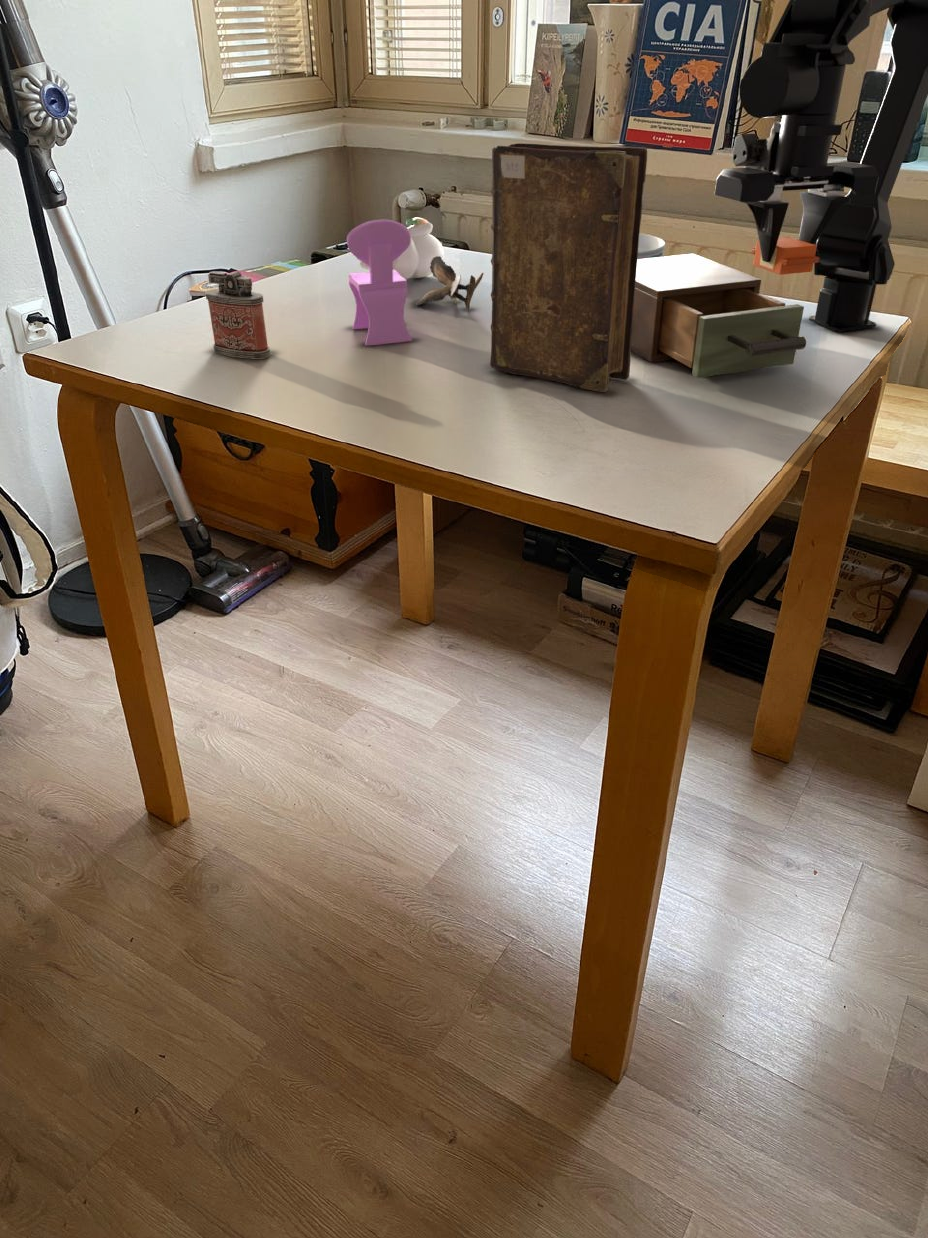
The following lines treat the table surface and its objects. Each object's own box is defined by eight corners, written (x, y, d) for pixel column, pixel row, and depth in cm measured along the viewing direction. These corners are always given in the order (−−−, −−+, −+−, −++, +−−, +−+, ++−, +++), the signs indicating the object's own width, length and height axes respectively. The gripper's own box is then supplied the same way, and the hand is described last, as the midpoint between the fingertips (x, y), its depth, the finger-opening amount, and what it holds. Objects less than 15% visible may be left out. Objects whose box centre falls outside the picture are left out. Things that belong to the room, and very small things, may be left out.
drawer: (822, 377, 109) (834, 318, 105) (723, 392, 105) (732, 331, 101) (725, 331, 124) (732, 277, 121) (635, 342, 121) (640, 288, 117)
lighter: (275, 352, 122) (265, 272, 116) (260, 360, 119) (249, 278, 113) (224, 345, 124) (212, 266, 119) (208, 352, 122) (195, 272, 116)
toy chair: (402, 322, 132) (397, 207, 124) (419, 340, 125) (415, 219, 117) (344, 328, 130) (335, 211, 122) (358, 346, 123) (349, 224, 115)
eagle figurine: (486, 292, 141) (433, 275, 143) (482, 257, 135) (427, 240, 137) (463, 330, 139) (410, 312, 141) (458, 297, 132) (402, 278, 135)
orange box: (780, 260, 117) (784, 235, 116) (816, 273, 112) (822, 246, 110) (748, 263, 116) (752, 237, 114) (783, 276, 110) (788, 249, 109)
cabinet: (750, 348, 121) (761, 279, 116) (650, 362, 117) (658, 291, 112) (685, 316, 133) (693, 253, 129) (593, 328, 129) (597, 263, 124)
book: (483, 369, 115) (483, 142, 102) (515, 354, 120) (520, 135, 106) (603, 396, 107) (621, 153, 93) (632, 379, 112) (654, 145, 98)
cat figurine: (440, 209, 153) (362, 209, 144) (464, 243, 150) (386, 245, 142) (419, 257, 160) (344, 259, 152) (442, 290, 158) (366, 295, 149)
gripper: (830, 105, 114) (804, 241, 122) (697, 109, 108) (680, 252, 117) (896, 112, 105) (864, 259, 114) (755, 117, 100) (732, 271, 108)
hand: (783, 259), depth 113 cm, fingers closed on orange box, 5 cm apart
